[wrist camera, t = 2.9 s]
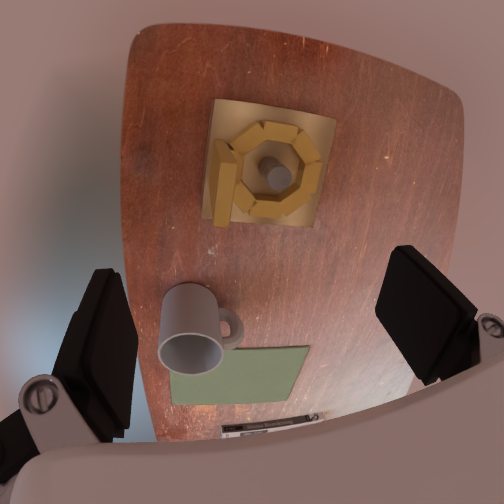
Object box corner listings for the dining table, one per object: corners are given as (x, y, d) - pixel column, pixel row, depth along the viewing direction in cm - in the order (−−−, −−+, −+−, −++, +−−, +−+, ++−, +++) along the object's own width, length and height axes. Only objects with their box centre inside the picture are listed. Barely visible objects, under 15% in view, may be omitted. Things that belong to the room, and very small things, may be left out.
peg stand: (200, 201, 32) (201, 237, 24) (212, 98, 26) (217, 98, 19) (297, 209, 34) (326, 245, 27) (317, 114, 29) (356, 124, 21)
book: (221, 448, 63) (222, 454, 61) (221, 425, 56) (222, 433, 54) (309, 436, 67) (311, 442, 65) (322, 412, 60) (325, 418, 58)
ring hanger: (205, 206, 27) (209, 258, 19) (216, 113, 23) (225, 123, 15) (303, 214, 29) (342, 264, 21) (322, 130, 25) (374, 150, 17)
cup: (160, 280, 36) (154, 331, 28) (241, 281, 38) (253, 331, 30) (163, 323, 39) (160, 375, 31) (236, 323, 41) (245, 374, 33)
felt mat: (172, 402, 49) (172, 404, 49) (168, 347, 41) (168, 348, 41) (286, 399, 54) (286, 400, 53) (308, 345, 46) (309, 347, 46)
